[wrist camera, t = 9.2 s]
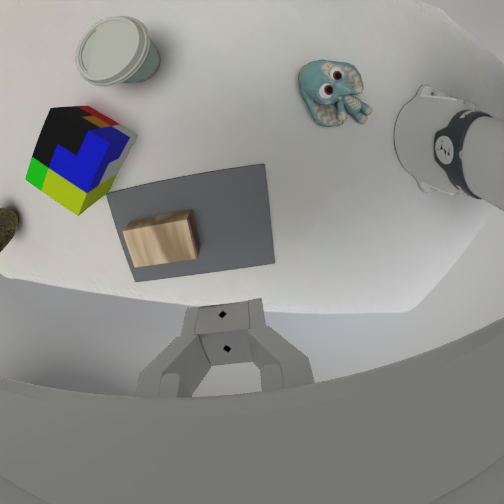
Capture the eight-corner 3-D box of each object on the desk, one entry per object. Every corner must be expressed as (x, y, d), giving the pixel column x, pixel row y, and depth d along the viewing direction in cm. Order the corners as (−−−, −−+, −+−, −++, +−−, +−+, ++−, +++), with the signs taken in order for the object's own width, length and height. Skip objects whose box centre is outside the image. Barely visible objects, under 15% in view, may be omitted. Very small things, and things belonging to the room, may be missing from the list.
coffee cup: (139, 28, 26) (106, 2, 16) (182, 55, 29) (161, 31, 19) (102, 74, 29) (58, 66, 18) (143, 102, 32) (108, 99, 21)
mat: (264, 163, 38) (264, 164, 37) (274, 262, 45) (274, 263, 45) (107, 193, 37) (106, 194, 37) (135, 280, 45) (135, 282, 45)
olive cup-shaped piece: (14, 191, 35) (-12, 207, 28) (32, 224, 38) (7, 244, 31) (-2, 210, 36) (-27, 227, 29) (14, 240, 39) (-8, 260, 32)
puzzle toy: (138, 135, 34) (110, 143, 25) (108, 192, 37) (78, 215, 29) (87, 105, 31) (50, 108, 22) (62, 162, 34) (25, 179, 25)
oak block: (188, 219, 36) (122, 231, 36) (198, 258, 39) (134, 267, 39) (192, 209, 40) (131, 220, 39) (200, 245, 42) (141, 254, 42)
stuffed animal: (366, 153, 32) (295, 103, 27) (339, 142, 38) (275, 100, 33) (402, 92, 28) (338, 35, 23) (371, 88, 34) (312, 41, 29)
